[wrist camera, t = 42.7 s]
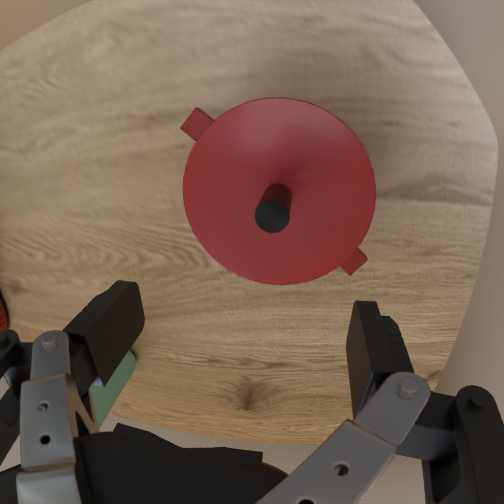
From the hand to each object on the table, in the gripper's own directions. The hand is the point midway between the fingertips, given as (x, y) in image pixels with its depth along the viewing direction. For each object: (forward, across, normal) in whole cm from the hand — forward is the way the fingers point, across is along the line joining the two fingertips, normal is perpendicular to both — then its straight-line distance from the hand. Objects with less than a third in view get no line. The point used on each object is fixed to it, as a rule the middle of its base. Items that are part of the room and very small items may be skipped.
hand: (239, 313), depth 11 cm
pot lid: (+18, 0, 0) cm, 18 cm away
